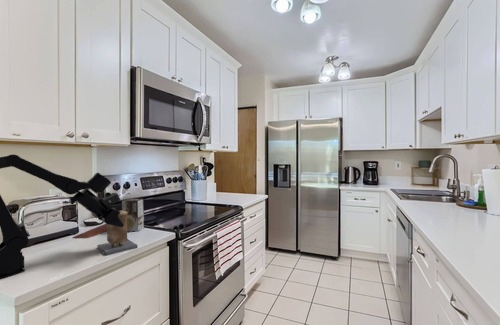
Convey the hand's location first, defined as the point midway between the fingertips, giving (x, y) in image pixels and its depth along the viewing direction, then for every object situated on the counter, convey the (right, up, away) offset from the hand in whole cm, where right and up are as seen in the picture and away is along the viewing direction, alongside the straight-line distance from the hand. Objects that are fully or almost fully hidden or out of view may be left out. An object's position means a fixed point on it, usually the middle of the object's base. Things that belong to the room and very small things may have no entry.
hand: (120, 224), depth 108 cm
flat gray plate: (-1, -10, -1) cm, 10 cm away
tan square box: (-1, -7, -1) cm, 7 cm away
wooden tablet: (-24, -10, +25) cm, 36 cm away
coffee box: (-7, -9, +27) cm, 29 cm away
